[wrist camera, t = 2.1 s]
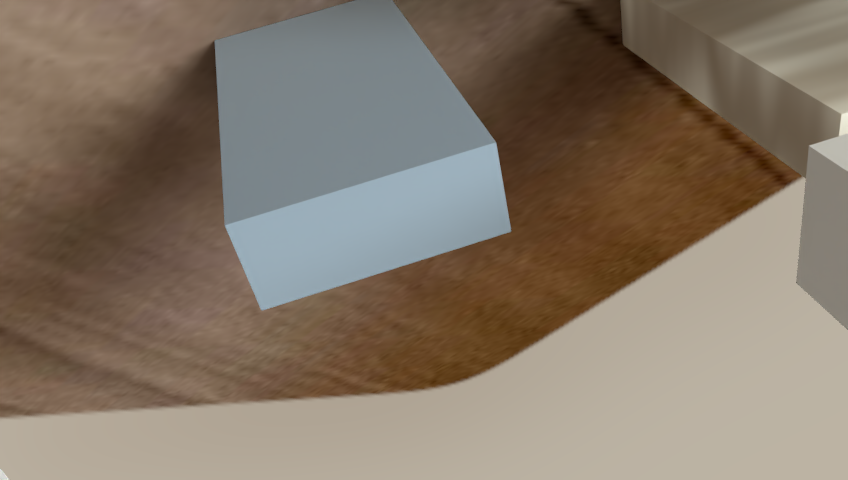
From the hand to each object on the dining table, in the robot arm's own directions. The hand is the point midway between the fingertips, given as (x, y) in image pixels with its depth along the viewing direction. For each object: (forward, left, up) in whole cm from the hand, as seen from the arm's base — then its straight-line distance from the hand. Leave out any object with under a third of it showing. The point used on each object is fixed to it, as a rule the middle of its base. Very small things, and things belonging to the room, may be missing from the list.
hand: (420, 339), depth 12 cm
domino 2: (+9, +7, -13) cm, 18 cm away
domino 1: (0, 0, -13) cm, 13 cm away
